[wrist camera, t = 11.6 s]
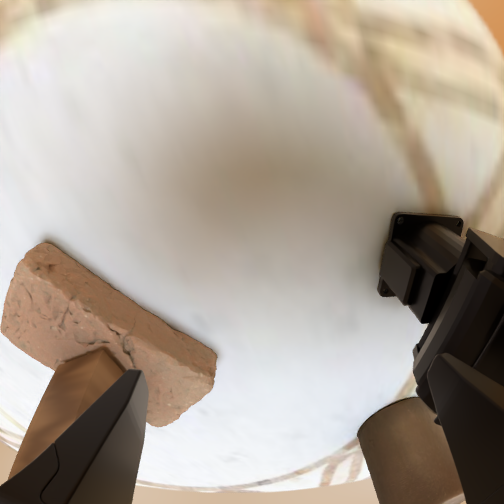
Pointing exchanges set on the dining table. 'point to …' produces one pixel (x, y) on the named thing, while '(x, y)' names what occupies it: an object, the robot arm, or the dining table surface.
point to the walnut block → (66, 402)
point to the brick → (102, 331)
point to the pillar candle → (409, 456)
